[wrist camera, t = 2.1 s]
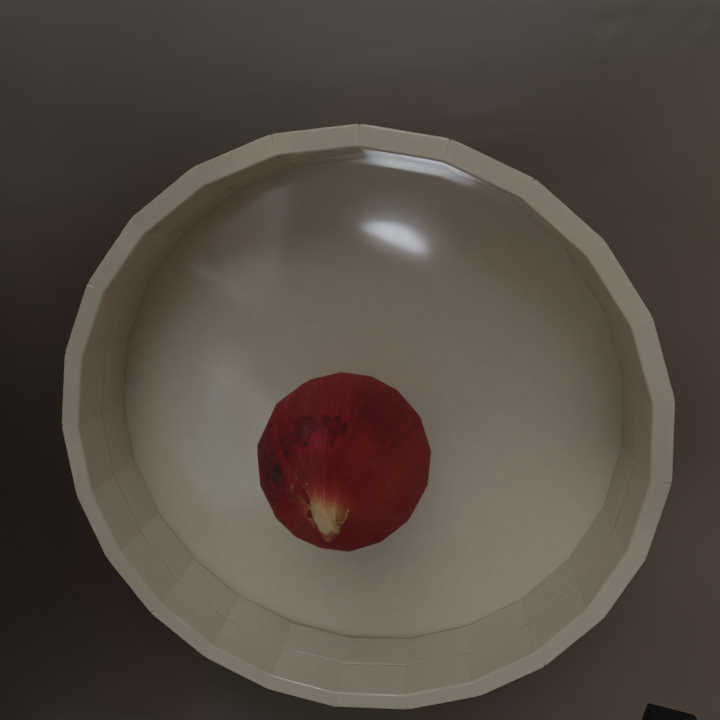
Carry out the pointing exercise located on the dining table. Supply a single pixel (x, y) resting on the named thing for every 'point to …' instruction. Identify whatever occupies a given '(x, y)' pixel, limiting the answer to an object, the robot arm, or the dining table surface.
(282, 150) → the cream bowl
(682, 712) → the robot arm
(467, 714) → the dining table surface
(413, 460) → the onion
